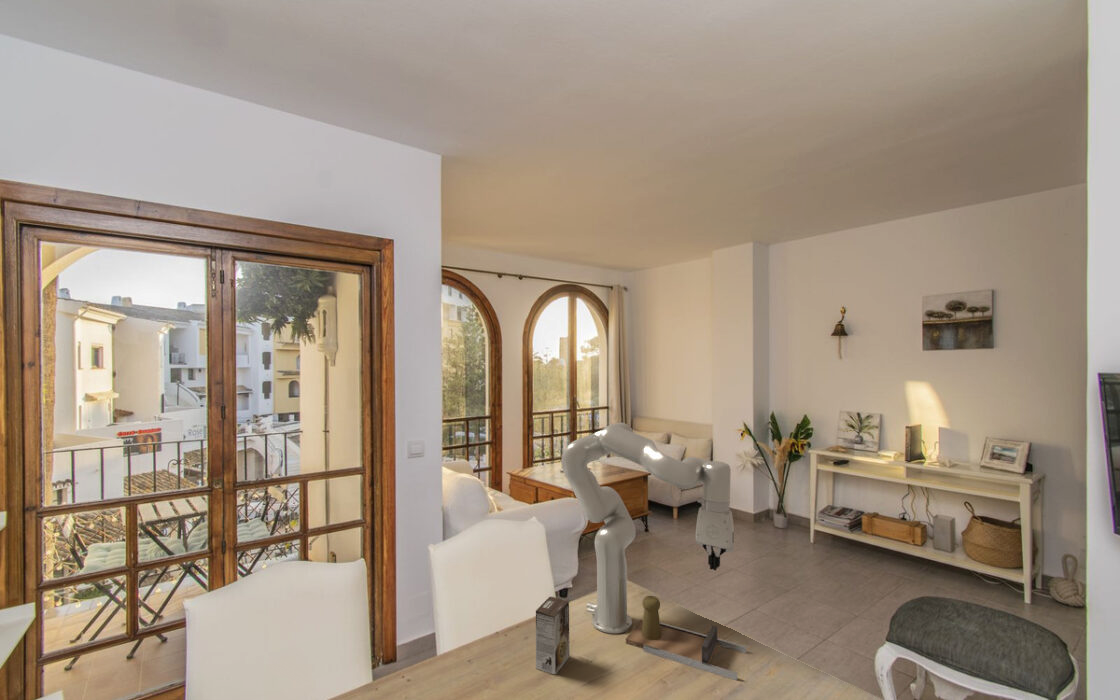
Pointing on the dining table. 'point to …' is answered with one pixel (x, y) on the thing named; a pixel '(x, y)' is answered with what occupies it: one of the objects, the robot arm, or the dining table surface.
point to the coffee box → (552, 635)
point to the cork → (651, 618)
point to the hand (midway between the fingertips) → (714, 568)
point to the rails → (694, 662)
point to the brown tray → (678, 642)
